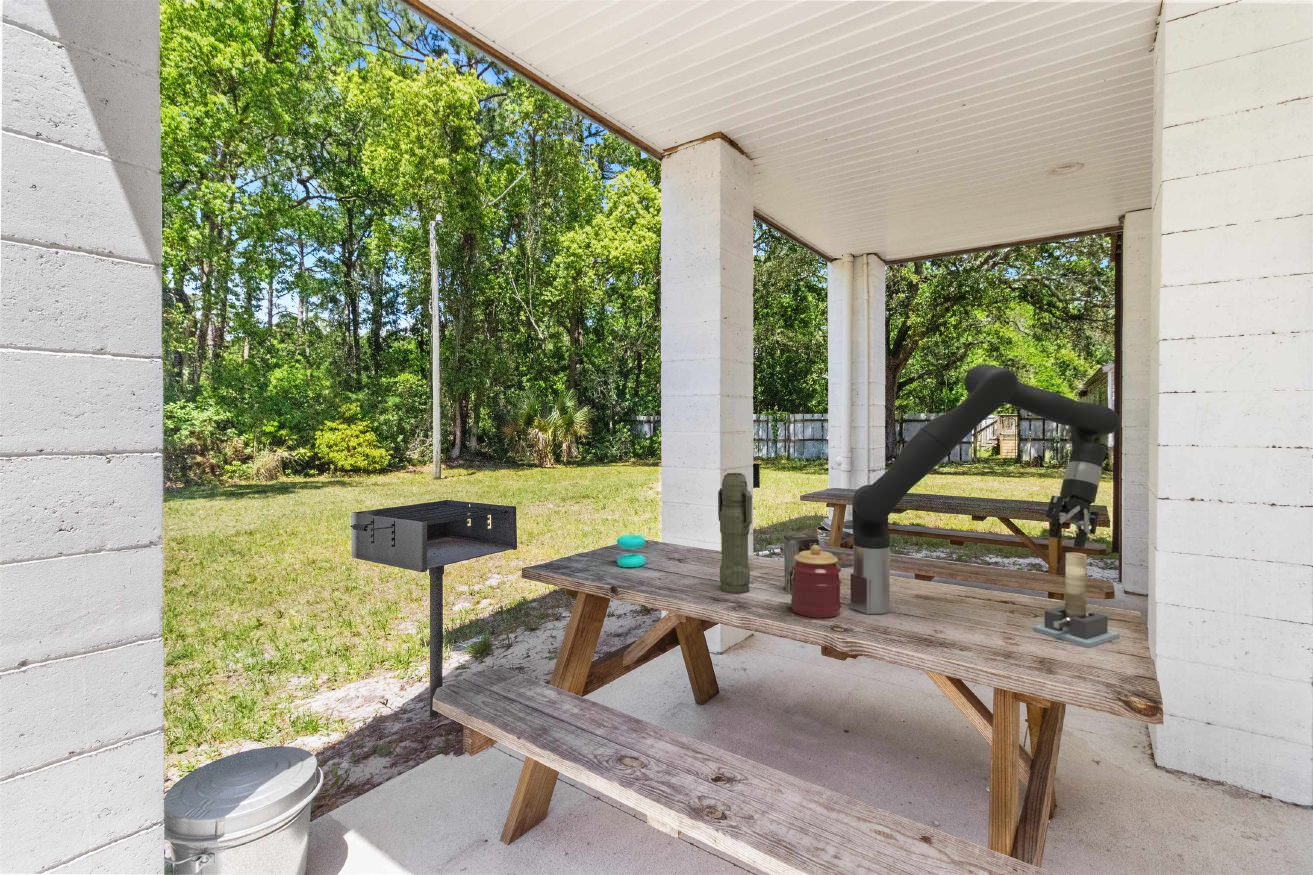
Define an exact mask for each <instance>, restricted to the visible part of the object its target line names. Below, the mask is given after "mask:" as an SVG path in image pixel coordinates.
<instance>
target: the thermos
mask: <svg viewBox="0 0 1313 875" xmlns="http://www.w3.org/2000/svg"><path fill="white" fill-rule="evenodd" d="M717 505H718V506H717V509H718V510H717V513H718V521H719V532H720V535H721V563H720V566H719V581H720V582H719V583H720V588H719V589H720V591H721V592H723V593H725V594H729V595H744V594H746V593H749V592H750V583H751V568H750V565H749V534H750V526H751V524H752V522H753V521H752V516H753V515H752V510H753V509H752V508H753V507H752V506H753V495H752V492H751V490H748V481H747V478H746V475H745V474H743V472H728V473H726V474H724V476H723V478H722V482H721V487H720V488H719V490H718V491H717Z"/></svg>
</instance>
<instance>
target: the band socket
mask: <svg viewBox="0 0 1313 875" xmlns="http://www.w3.org/2000/svg"><path fill="white" fill-rule="evenodd" d="M1089 612H1090V611H1089ZM1095 612H1096V611H1094V612H1090V613H1088V617H1087V618H1083V619H1081V618H1078V617H1073V618H1071V631H1068V630H1066V629H1065V627H1062V628H1056V627H1053V626H1054V621H1058V620H1062V619H1064V618H1065V605H1062V606H1061V605H1060V606H1058V607H1054V608H1050V609H1047V610H1044V623H1041V624H1037V625H1034V626H1032V631H1033V632H1035V633H1038V634H1043V635H1045V636H1049V637H1051V638H1055V639H1057V640H1058V639H1059V640H1062V641H1065V642H1068V643H1071V644H1074V645H1078V646H1080V647H1083V648H1087V649H1089V648H1093V647H1095V646H1099V645H1101V644H1104V643H1107V642H1110V641H1113V640H1116V639H1119V638H1120V633H1119V632H1116V631H1112V630H1110V629H1109V630H1108V626H1109V625H1108V624H1109V622H1108V621H1109V619H1108V618H1109V616H1108V615H1106V614H1101V613H1098V612H1097V613H1095Z"/></svg>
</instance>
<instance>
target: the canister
mask: <svg viewBox="0 0 1313 875" xmlns="http://www.w3.org/2000/svg"><path fill="white" fill-rule="evenodd" d="M794 559H795V560H796V561H795V562H794V563H793V564H792V565H791V568H792V569H793V576H792V577H791V580H792V594H791V598H790V605H791V610H792V611H793V613H796V614H797V615H800V616H804V617H808V618H817V619H821V618H822V619H823V618H825V619H827V618H833V617H836V616H838V615H839V614H840V613H841V609H842V602H841V584H842V580H841V578H840V572H841V571H842V568H841V566H840V565H839V564H838V561H839V558H837V556H835V555H833V553H831V552H828V551H824V550H822V549H821V547H820V545H819V546H818V545H813V546H812V547H811V550H808V551H802V552H800V553H799V554H797V555H796V556H794Z"/></svg>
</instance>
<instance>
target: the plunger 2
mask: <svg viewBox="0 0 1313 875" xmlns="http://www.w3.org/2000/svg"><path fill="white" fill-rule="evenodd" d="M1090 612H1095V613H1098V612H1097V611H1093V610H1091V611H1090V610H1089V611H1086V618H1087V617H1088V613H1090Z"/></svg>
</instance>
